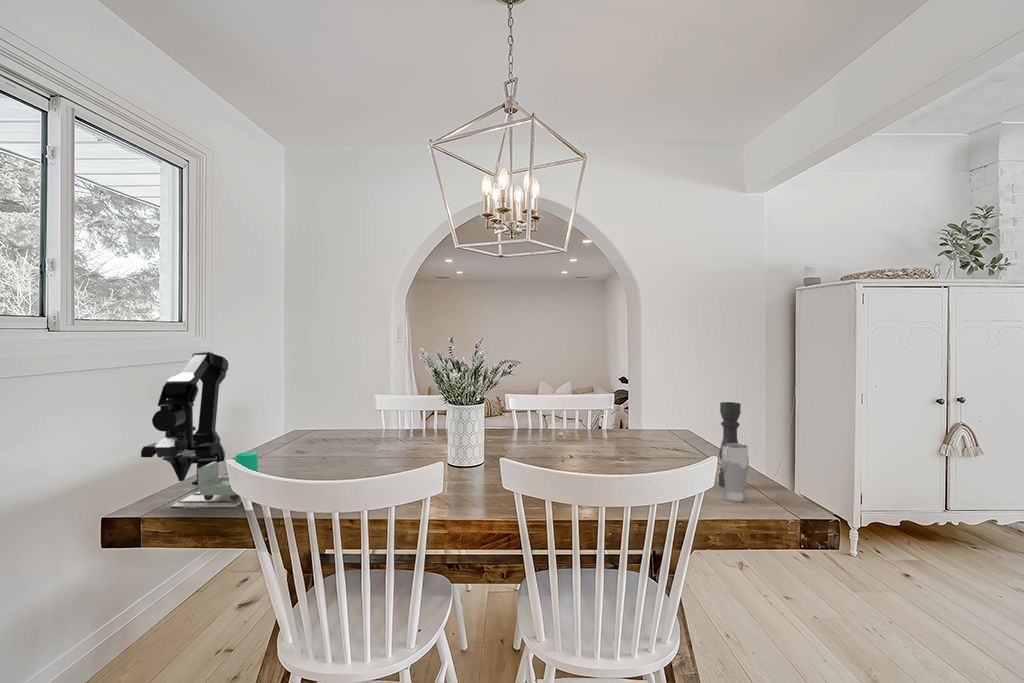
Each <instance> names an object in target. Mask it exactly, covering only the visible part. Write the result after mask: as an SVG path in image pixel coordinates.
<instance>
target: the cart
mask: <svg viewBox="0 0 1024 683" xmlns="http://www.w3.org/2000/svg"><path fill="white" fill-rule="evenodd" d="M228 476H229V475H218V477H217V462H212V463H209V464H207V465H205V466H203V467H201V468H198V484H197V492H200V495H204V499H205V500H207V501H209V500H211V499H212V498H213V495H230V499H231V500H233V501H235V500H237V499H238V498H239V496H238V495H237V494H236V493H234V492H233V491H232V489H231V485H230V482H229V478H228Z"/></svg>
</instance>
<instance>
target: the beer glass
mask: <svg viewBox="0 0 1024 683" xmlns="http://www.w3.org/2000/svg"><path fill="white" fill-rule="evenodd" d="M721 467H722V470H723V476H724V483H725V488H724V487H723V488H724V489H723V494H722V498H723V499H724V500H725V501H727V502H733V503H745V502H746V501H747V494H746V481H747V476H748V471H749V446H748V445H746V444H742V443H738V444H737V443H725V444H723V446H722V460H721Z"/></svg>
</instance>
